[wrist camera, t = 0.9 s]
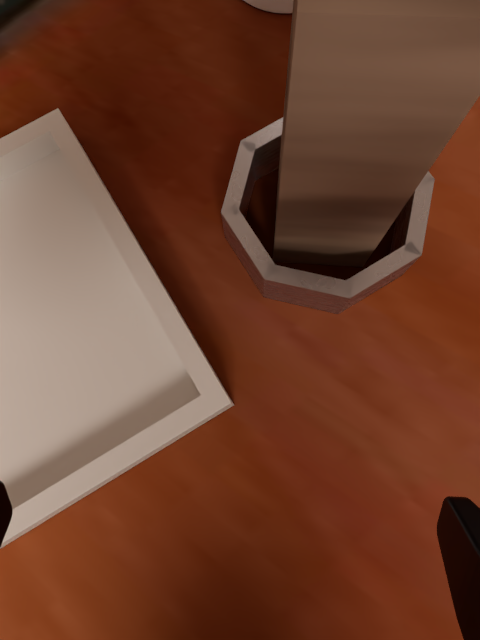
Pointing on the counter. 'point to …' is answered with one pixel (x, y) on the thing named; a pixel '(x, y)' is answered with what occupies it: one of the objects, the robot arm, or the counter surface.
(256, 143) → the grey octagonal ring
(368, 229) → the walnut block
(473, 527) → the robot arm
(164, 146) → the counter surface
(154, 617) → the counter surface
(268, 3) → the bottle
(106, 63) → the counter surface
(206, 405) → the tray
